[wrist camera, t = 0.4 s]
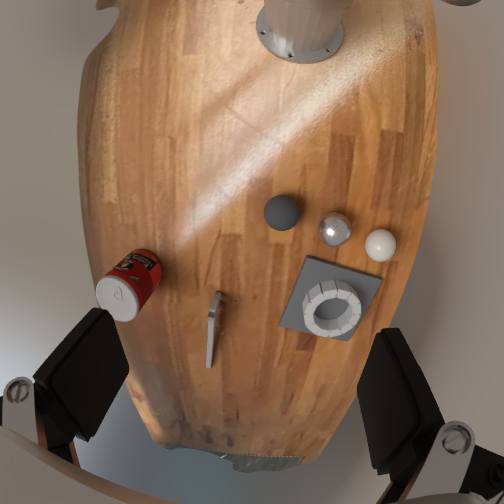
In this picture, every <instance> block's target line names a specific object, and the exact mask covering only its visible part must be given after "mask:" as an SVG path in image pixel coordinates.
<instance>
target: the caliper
mask: <svg viewBox="0 0 504 504" xmlns="http://www.w3.org/2000/svg"><path fill="white" fill-rule="evenodd" d="M220 296H221V292H215V294H214V297H213V300H212V303H211V306H210V309H209V314H208V321H207V322H208V343H207V360H206V367H207V368H211V364H212V357H213V346H214V335H215V327H216V321H217V312H218V308H219V304H220Z"/></svg>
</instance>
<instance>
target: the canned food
mask: <svg viewBox="0 0 504 504" xmlns="http://www.w3.org/2000/svg"><path fill="white" fill-rule="evenodd" d="M161 278H162V267H161V264H160V262H159V260H158V259H157V257H156V256H155V255H154V254H152V253H151V252H149V251H147V250H135V251H133V252H131V253H130V254H128V255H127V256H126V257H125V258H124V259H123V260H122V261H120V262H119V263H118V264H117V265H116V266H115V267H114V268H113V269H111V270H110V271H109V272H108V273H107V274H106V275H105V276H104V277H103V278H102V279H101V280H100V281H99V283H98V284H97V287H96V296H97V300H98V302H99V304H100V306H101V307H102V309H106V310H108V311H109V313H110V314H111V315H112V316H113V318H114V319H116V320H118V321H122V322H126V321H130V320H132V319H133V318H134V317H135V316H136V315H137V314H138V312H139V311H140V310H141V308H142V307H143V306H144V304H145V303H146V301H147V300H148V299H149V297H150V296H151V294H152V293H153V292H154V290H155V289H156V287H157V286H158V285H159V283H160V281H161Z"/></svg>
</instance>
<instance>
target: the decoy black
mask: <svg viewBox="0 0 504 504" xmlns="http://www.w3.org/2000/svg"><path fill="white" fill-rule="evenodd" d="M299 216H300V211H299V207H298V205H297V203H296V202H295V201H294V200H293V199H292V198H290V197H288V196H285V195H279V196H275V197H273V198H271V199H270V200H269V201H268V202H267V204H266V206H265V209H264V217H265V220H266V222H267V224H268V225H269V226H270V227H271V228H273V229H275V230H278V231H286V230H289V229H291V228H292V227H294V226H295V225H296V223H297V222H298V220H299Z"/></svg>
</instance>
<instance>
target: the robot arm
mask: <svg viewBox="0 0 504 504" xmlns="http://www.w3.org/2000/svg"><path fill="white" fill-rule="evenodd" d="M442 1H444V2H447V3H449V4H452V5H457V6H468V5H473V4H475V3H477V2H479V1H481V0H442ZM352 2H353V0H264V4H265V6H264V7H263V8H262V9H261V10H260V12H259V14H258V16H257V21H256V30H257V34H258V37H259V39H260V41H261V42H262V44H263V45H264V47H265V48H266V49H267V50H268V51H270V52H271V53H272V54H274V55H275V56H277V57H279V58H281V59H283V60H286V61H290V62H294V63H306V64H309V63H316V62H319V61H322V60H325V59H327V58H328V57H330V56H331V55H333V54H334V53H335V52H336V51H337V49H338V48H339V47H340V45H341V43H342V40H343V36H344V29H343V25H342V22H341V21H342V19H343V18H344V16H345V14H346V12H347V11H348V9H349V7H350V5H351V4H352ZM262 33H265V34H264V35H262ZM327 50H328V51H329V53H328V52H327ZM289 56H292V58H290V57H289ZM128 373H129V364H128V361H127V359H126V356H125V353H124V350H123V347H122V344H121V341H120V338H119V335H118V332H117V329H116V326H115V322H114V319H113V316H112V315H111V314H110V313H109V311H108V310H106V309H100V308H92V309H91V310H90V311H89V312H88V313H87V314H86V315H85V316H84V317H83V319H82V320H81V321H80V322H79V323H78V324H77V325H76V326H75V327H74V329H73V330H72V331H71V332H70V333H69V334H68V335H67V336H66V338H64V340H63V341H62V342H61V343H60V344H59V346H57V348H56V349H55V350H54V351H53V352H52V353H51V354H50V356H49V357H48V358H47V359H46V360H45V362H44V363H43V364H42V365H41V366H40V368H39V369H38V370H37V371H36V373H35V374H34V375H33V378H34V380H35V383H34V384H33V383H32V381H31V380H30V379H28V378H26V377H17V378H15V379H13V380H12V381H10V382H9V383H8V384H7V385H6V388H5V389H4V394H3V396H1V397H0V504H180V503H175V502H171V501H168V500H164V499H160V498H156V497H153V496H150V495H147V494H143V493H140V492H137V491H134V490H132V489H129V488H126V487H123V486H121V485H118V484H115V483H112V482H110V481H108V480H105V479H103V478H101V477H98V476H96V475H94V474H92V473H90V472H87V471H85V470H83V469H81V468H80V464H79V461H78V457H77V453H76V450H75V446H74V442H73V438H74V437H75V436H76V437H77V438H79V439H82V440H84V441H86V442H88V441H89V439H90V437H93V436H94V435H95V434H96V432H97V430H98V428H99V426H100V424H101V423H102V421H103V419H104V417H105V415H106V413H107V411H108V409H109V407H110V406H111V404H112V402H113V400H114V398H115V397H116V395H117V393H118V391H119V389H120V387H121V386H122V384H123V382H124V380H125V379H126V377H127V375H128ZM357 395H358V399H359V404H360V408H361V413H362V417H363V422H364V427H365V432H366V436H367V441H368V447H369V452H370V458H371V463H372V467H373V468H374V469H377V473H378V475H383V474H388V473H389V474H390V480H391V482H390V484H389V485H388V487H387V488H386V490H385V492H384V493H383V494H382V496H381V497H380V499H379V500H378V502H377V503H376V504H504V457H502V456H500V455H498V454H495V453H493V452H491V451H488V450H486V449H484V448H482V447H479V446H477V445H475V436H474V433H473V431H472V429H471V428H470V427H469V426H468V425H467V424H465V423H463V422H460V421H450V422H448V423H445V422H444V419H443V417H442V414H441V412H440V410H439V407H438V405H437V403H436V400H435V398H434V396H433V394H432V391H431V389H430V387H429V385H428V383H427V380H426V378H425V376H424V374H423V372H422V370H421V368H420V366H419V365H418V364H417V362H416V360H415V358H414V356H413V354H412V352H411V350H410V348H409V346H408V344H407V342H406V340H405V338H404V336H403V335H402V333H401V331H400V329H399V328H383V329H382V330H381V332H380V333H377V334H376V336H375V339H374V342H373V345H372V347H371V350H370V353H369V356H368V359H367V361H366V364H365V367H364V369H363V372H362V374H361V377H360V379H359V382H358V385H357Z"/></svg>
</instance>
